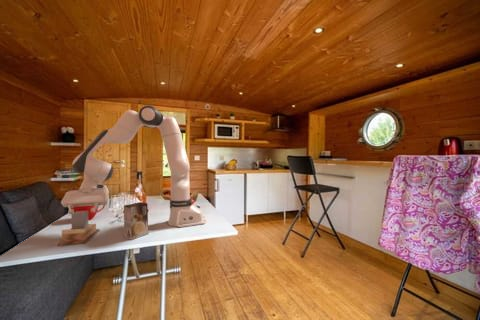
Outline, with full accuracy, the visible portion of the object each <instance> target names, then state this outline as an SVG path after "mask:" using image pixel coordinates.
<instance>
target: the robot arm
mask: <svg viewBox="0 0 480 320" xmlns="http://www.w3.org/2000/svg"><path fill="white" fill-rule="evenodd" d="M141 127H144V128H145V127H146V128H148V129H149V128H150V129H159V132H160V135H161V139H162V142H163V145H164V150H165V154H166V158H167V163H168V166H169V167H168V168H169V171H170V199H169V210H170V211H169V212H170V213H169V219H168V222H167V225H168V226H171V227H176V228H186V227H192V226H199V225H204V224H206V223H207V218H206V217H205V216H204V215H203V214H204V213H203V211H202V210H201V208H199V207H198V206H197V205H195V204H194V203H195V200H194V199H193V198H191V196H190V194H191V186H190V185H191V184H190V169H191V166H190V162H189V158H188V155H187V150H186V147H185V143H184V139H183V136H182V132H181V129H180V125H179V124H178V122H177V120H176V118H175V117H173V116H164V114H162V112H161V111H160V110H159V109H157V107H155V106H153V105H144V106H142V107H141V108H140V109H139V112H137V111H135V110H132V109H128V110H126V111H124V113H122V115H121V116H120V117H119V118H118V120H117V121H116V124H114V126H113V127H111V128H109V129H104V130H102V131H101V132H100V133H99V134H98V135H97V136H96V137H95V138H94V139H93V140H92V141H91V142H90V143H89V144H88V145H87V146H86V148H84V150H83V151H82V152H81V153H80V154H79V155H77V156H76V157H75V158H74V160H73V161H72V164H71V167H72V169H73V171H74V172H75V173H78V174H84V177H83V181H82V182H81V185H80V187H79V189H74V190H73V189H72V190H71V189H70V190H69V191H66V192H65V193H64V196H63V198H62V199H61V201H60V204H61V206H62V207H63V208H68V212H67V213H68V215H71V214H73V212H74V210H73V207H77V206H94V205H95V206H94V207H93V208H91V213H92V212H95V210H96V209H97V208H100V206H103V205H105V206H106V205H108V204H109V200H110V195H109V194H110V191H109V189H108V186H107V185H106V184H102V183H104V182H106V181H109V180H110V179H111V178H112V176H113V175H114V174H113V173H114V165H113V164H112V163H110V162H107V161H105V160H101V159H98V158H96V157H94V156H93V155H94V154H95V153H96V151H97V150H98V149H99V148H100V147H101V146H102V145H104V144H109V143H110V144H121V145H123V144H124V145H125V144H128V143H130V142H132V140H133V139H134V138H135V136H136V135H137V133H138V131H140V128H141Z"/></svg>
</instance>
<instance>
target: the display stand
mask: <svg viewBox="0 0 480 320" xmlns="http://www.w3.org/2000/svg"><path fill="white" fill-rule="evenodd" d="M88 224H89V227H87V228H80V229H72V227H71V228H69V229H67V228H66V229H62V230H61V240H60V241H59V242H58V243H57V247H62V246H63V247H64V246H75V245H83V244H87V243H89V242H90V240H92V239H93V238H94V237H95V236H96V235H97V234H99V232H100V228H97V223H88Z"/></svg>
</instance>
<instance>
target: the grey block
mask: <svg viewBox="0 0 480 320" xmlns="http://www.w3.org/2000/svg"><path fill="white" fill-rule="evenodd" d="M70 216H71V217H70V218H71V219H70V220H71V228H72V229H80V228H87V227H89V224H90V223H89V220H88V211H77V212H75V213H73V214H70Z"/></svg>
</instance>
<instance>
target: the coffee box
mask: <svg viewBox="0 0 480 320" xmlns="http://www.w3.org/2000/svg"><path fill="white" fill-rule="evenodd" d="M148 206H149V205H148V203H147V202H142V201H140V202H135V203H130V204H125V205H123V223H124V225H123V226H124V229H123V230H124V235H123V236H124V238H125V239H129V240H131V241H133V240H135V239H138V238H141V237H144V236H146V235H149V215H148V214H149V212H148V211H149V209H148Z"/></svg>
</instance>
